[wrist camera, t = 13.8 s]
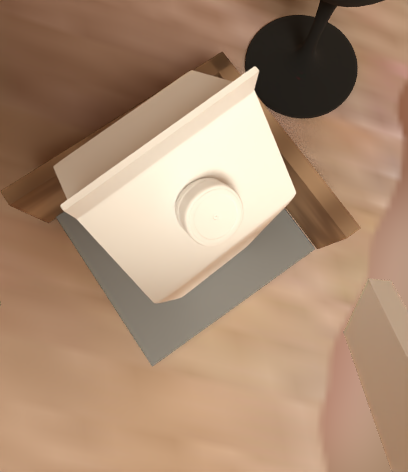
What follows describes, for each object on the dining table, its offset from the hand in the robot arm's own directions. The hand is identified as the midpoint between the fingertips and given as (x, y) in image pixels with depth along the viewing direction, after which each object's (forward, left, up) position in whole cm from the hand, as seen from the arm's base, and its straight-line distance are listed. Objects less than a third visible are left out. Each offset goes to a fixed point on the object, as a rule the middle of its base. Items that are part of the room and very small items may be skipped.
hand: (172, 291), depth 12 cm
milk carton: (-4, +3, -16) cm, 17 cm away
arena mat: (-4, +3, -16) cm, 17 cm away
